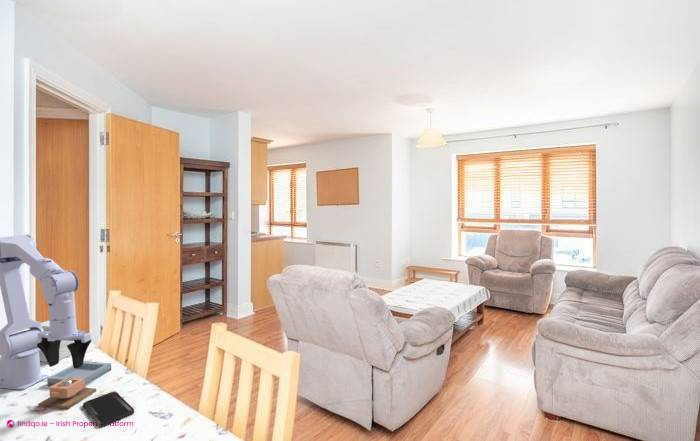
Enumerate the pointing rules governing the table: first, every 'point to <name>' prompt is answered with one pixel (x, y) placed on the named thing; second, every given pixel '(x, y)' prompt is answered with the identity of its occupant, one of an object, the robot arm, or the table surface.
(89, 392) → the base
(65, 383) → the grey stepped cylinder
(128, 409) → the phone
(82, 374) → the tray
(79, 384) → the ring
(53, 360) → the robot arm
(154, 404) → the table surface
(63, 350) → the supplement box
